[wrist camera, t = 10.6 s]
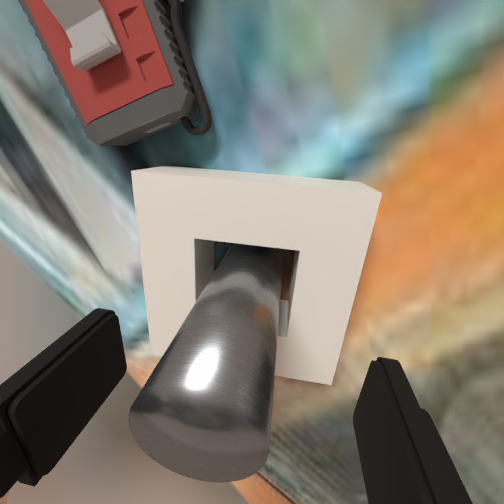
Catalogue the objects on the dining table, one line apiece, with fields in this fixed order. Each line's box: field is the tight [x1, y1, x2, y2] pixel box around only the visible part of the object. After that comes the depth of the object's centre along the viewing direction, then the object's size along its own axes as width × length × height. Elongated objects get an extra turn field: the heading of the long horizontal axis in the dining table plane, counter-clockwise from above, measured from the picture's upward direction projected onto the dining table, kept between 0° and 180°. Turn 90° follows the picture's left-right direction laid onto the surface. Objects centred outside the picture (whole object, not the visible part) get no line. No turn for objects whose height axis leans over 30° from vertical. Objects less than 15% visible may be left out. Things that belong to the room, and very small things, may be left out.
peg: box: [129, 243, 283, 482], centre depth 13 cm, size 4×4×12 cm
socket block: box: [131, 166, 382, 385], centre depth 16 cm, size 12×12×4 cm
